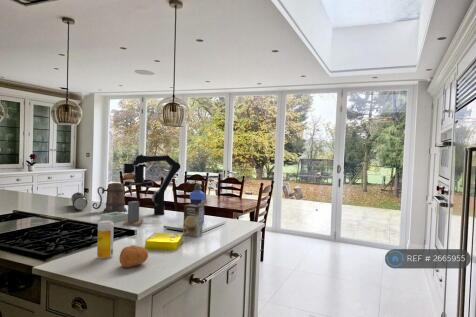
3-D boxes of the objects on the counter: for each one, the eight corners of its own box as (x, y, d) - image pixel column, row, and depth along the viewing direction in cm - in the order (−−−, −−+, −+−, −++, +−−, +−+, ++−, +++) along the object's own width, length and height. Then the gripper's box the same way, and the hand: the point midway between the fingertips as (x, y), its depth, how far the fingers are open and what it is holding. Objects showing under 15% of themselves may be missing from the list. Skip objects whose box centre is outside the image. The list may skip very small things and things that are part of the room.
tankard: (125, 208, 245) (125, 182, 245) (129, 212, 231) (130, 184, 230) (91, 210, 234) (91, 182, 233) (93, 214, 219) (94, 185, 219)
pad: (142, 222, 202) (143, 219, 202) (140, 225, 192) (140, 223, 192) (126, 222, 200) (126, 219, 200) (123, 226, 191) (123, 223, 191)
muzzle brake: (84, 204, 256) (84, 191, 255) (87, 211, 231) (88, 196, 231) (70, 205, 251) (71, 192, 251) (72, 212, 227) (73, 197, 226)
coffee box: (182, 235, 175) (183, 205, 174) (187, 232, 181) (188, 203, 180) (197, 237, 172) (198, 206, 171) (202, 234, 178) (203, 205, 177)
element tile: (153, 241, 163) (153, 231, 163) (183, 242, 163) (183, 233, 162) (143, 250, 148) (144, 239, 148) (176, 251, 148) (176, 241, 147)
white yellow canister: (100, 254, 139) (100, 219, 138) (114, 254, 139) (115, 220, 139) (94, 259, 132) (95, 223, 132) (110, 259, 133) (111, 223, 133)
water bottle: (186, 224, 201) (187, 183, 200) (193, 221, 209) (195, 182, 209) (199, 225, 197) (200, 184, 197) (206, 222, 206) (207, 183, 205)
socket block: (116, 217, 212) (116, 211, 212) (128, 220, 206) (128, 213, 206) (100, 220, 202) (100, 214, 202) (112, 223, 196) (112, 216, 196)
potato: (115, 264, 128) (115, 245, 128) (143, 259, 135) (143, 241, 135) (123, 271, 121) (123, 251, 121) (151, 265, 128) (152, 246, 128)
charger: (134, 220, 199) (134, 200, 199) (138, 221, 197) (139, 201, 197) (127, 221, 195) (128, 201, 195) (132, 222, 193) (132, 202, 193)
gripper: (154, 172, 232) (153, 194, 232) (126, 172, 228) (126, 194, 229) (152, 174, 221) (152, 197, 221) (124, 173, 217) (123, 196, 218)
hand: (138, 196), depth 222 cm, fingers open, 9 cm apart
